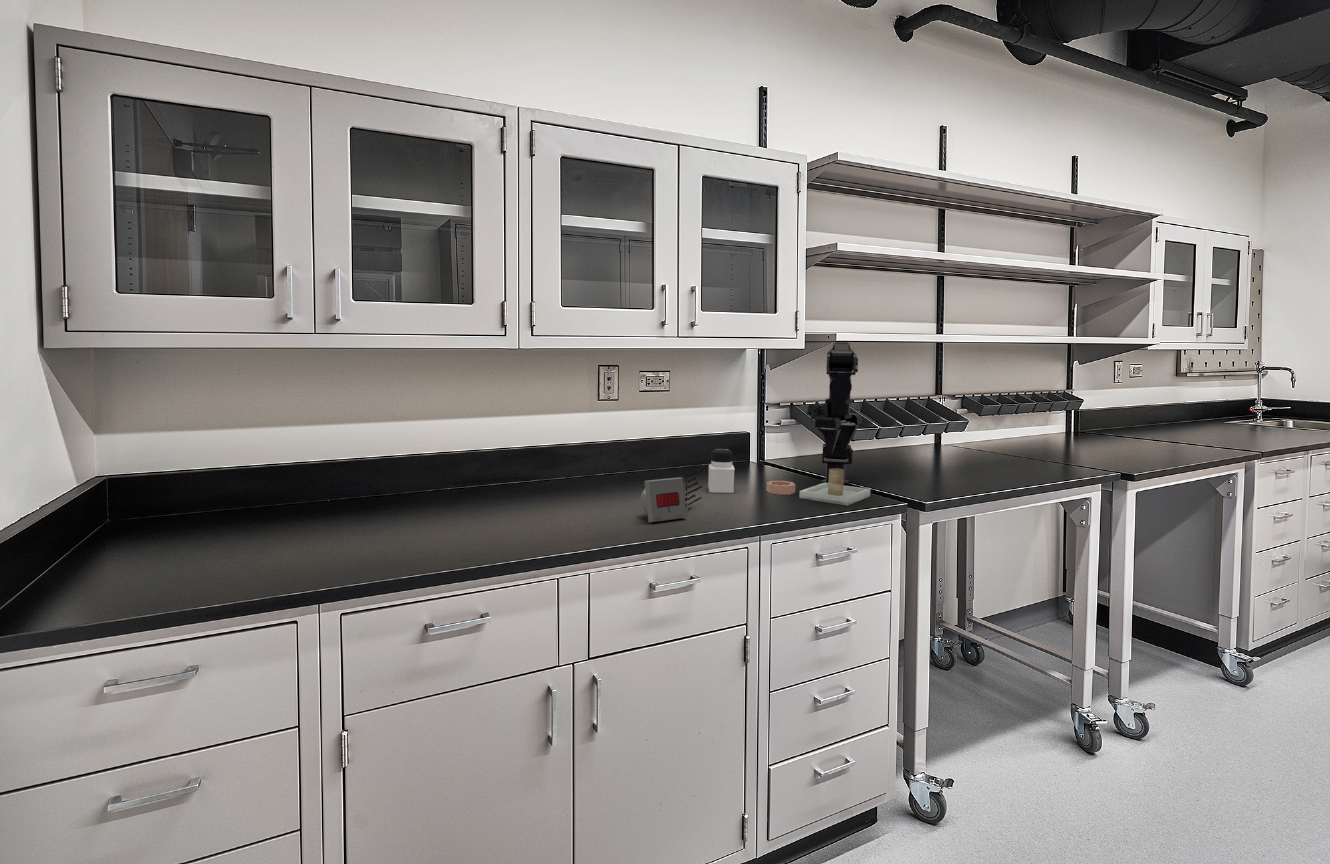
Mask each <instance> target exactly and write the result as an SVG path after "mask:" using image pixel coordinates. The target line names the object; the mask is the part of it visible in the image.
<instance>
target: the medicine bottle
mask: <svg viewBox="0 0 1330 864" xmlns="http://www.w3.org/2000/svg"><path fill="white" fill-rule="evenodd" d="M733 453H734V452H733V451H732V450H730V449H726V448H716V449H713V450H712V451H711V460H710V461H711V462H710V464H708V488H707V489H708V492H709V493H711V494H712V493H713V494H714V493H715V494H721V493H722V494H734V493H735V485H736V482H735V479H736V477H735V476H736V470H735V469H736V468H735V466H734V465H733Z"/></svg>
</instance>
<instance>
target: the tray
mask: <svg viewBox="0 0 1330 864" xmlns="http://www.w3.org/2000/svg"><path fill="white" fill-rule="evenodd" d="M870 496H871V488H866V487H860V486H859V487H857V486H851V485H844V484H843V495H841V496H835V495H829V494H828V483H823V482H821V483H819V484H816V485H813V486H810V487H808V488H805V489H802V490H801V489H800V490H799V499H801V500H802V499H804V500H809V501H817V502H822V503H828V504H835V505H841V506H846V507H847V506H850V505H853V504H854V503H857V502H859V501H862V500H864V499H867V498H869V497H870Z"/></svg>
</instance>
